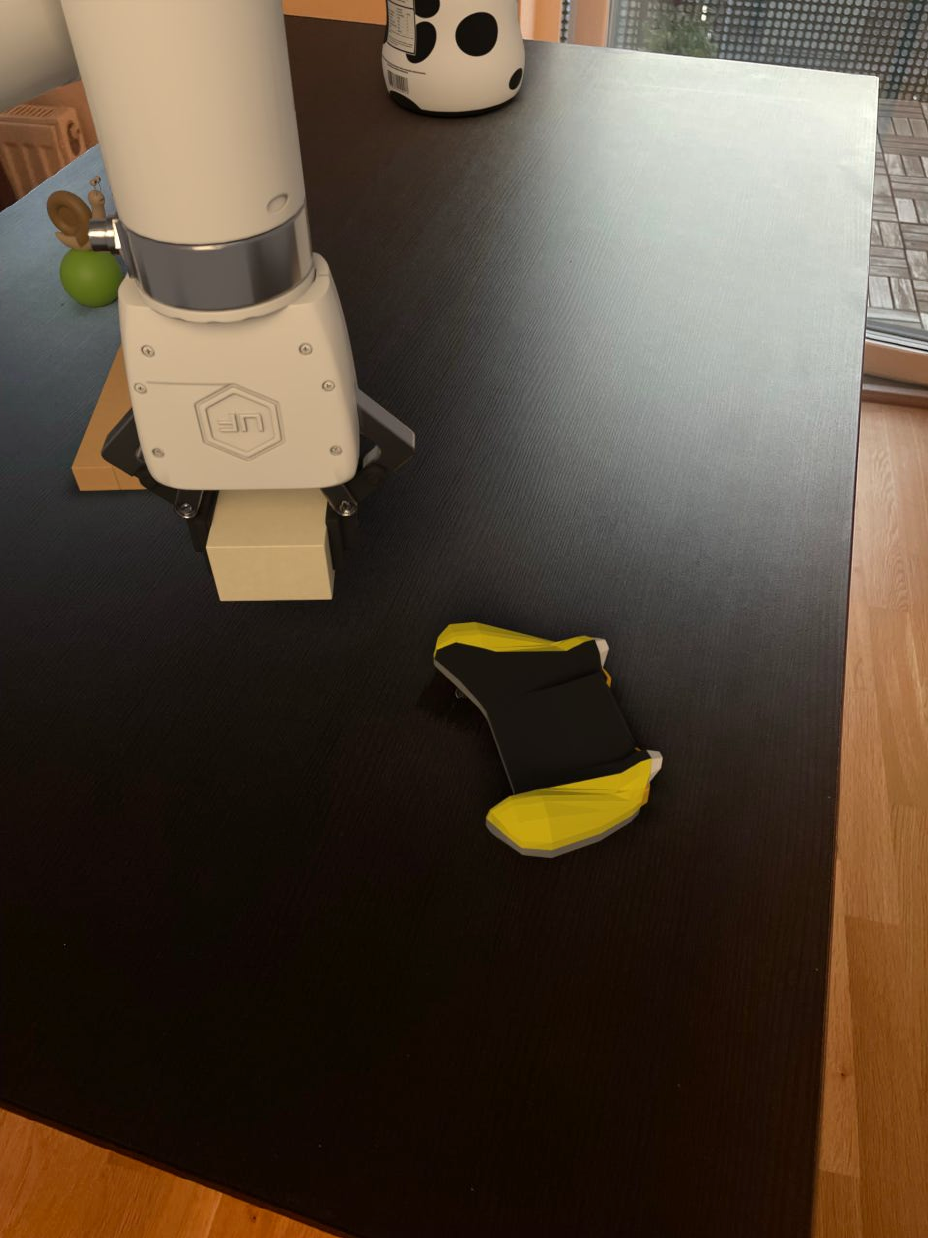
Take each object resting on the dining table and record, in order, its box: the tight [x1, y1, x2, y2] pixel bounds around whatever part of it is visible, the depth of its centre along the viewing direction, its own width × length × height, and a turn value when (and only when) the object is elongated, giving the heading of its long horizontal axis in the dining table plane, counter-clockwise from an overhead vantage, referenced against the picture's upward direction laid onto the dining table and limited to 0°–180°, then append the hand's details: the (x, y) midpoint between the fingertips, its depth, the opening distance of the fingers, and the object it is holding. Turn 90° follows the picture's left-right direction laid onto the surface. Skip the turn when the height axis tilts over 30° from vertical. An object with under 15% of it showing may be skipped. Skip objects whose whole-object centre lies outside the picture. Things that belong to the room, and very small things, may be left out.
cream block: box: [206, 488, 336, 602], centre depth 54 cm, size 6×6×4 cm
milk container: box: [381, 0, 526, 118], centre depth 118 cm, size 17×17×18 cm
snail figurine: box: [46, 175, 124, 308], centre depth 88 cm, size 5×6×12 cm
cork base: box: [71, 341, 160, 492], centre depth 81 cm, size 13×23×2 cm, turn 1°
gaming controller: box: [433, 621, 664, 859], centre depth 55 cm, size 15×6×10 cm
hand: (280, 553), depth 55 cm, fingers closed on cream block, 6 cm apart
